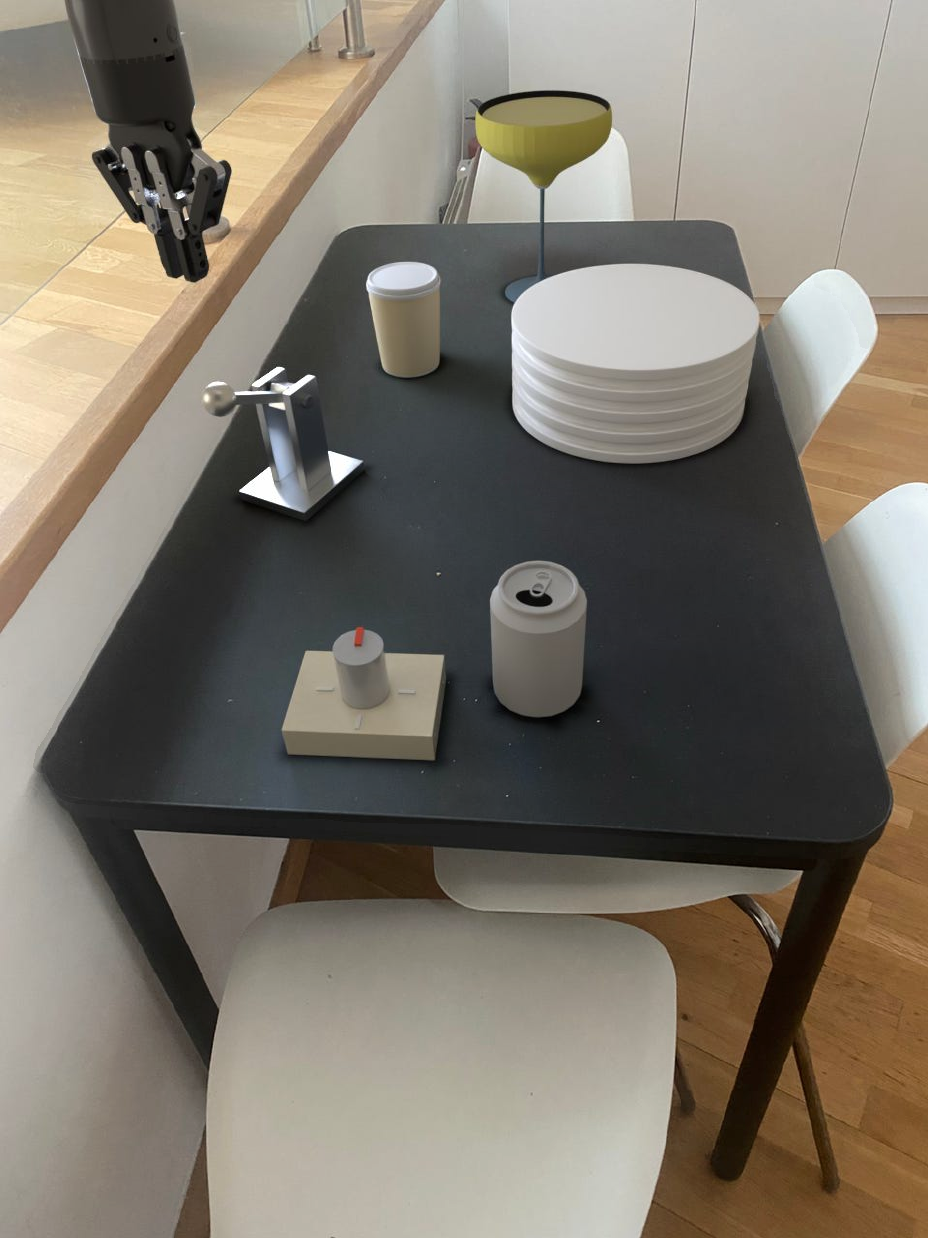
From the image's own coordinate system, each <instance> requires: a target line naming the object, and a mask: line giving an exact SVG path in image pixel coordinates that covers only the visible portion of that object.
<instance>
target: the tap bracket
mask: <svg viewBox="0 0 928 1238" xmlns="http://www.w3.org/2000/svg"><path fill="white" fill-rule="evenodd" d="M286 371H287V370H286V368H285V367H281V366H277V367H276V368H274V369H273V370H271V371H270V372H269V373H267V374H265V375H264V376H262V377H261V378H260V379H258V380H256V381H255V382H254V383H252V384H251V386H250V387H251V390H252V392H257V391H270V389H271V383H287V382H288V383H289V381H288V376H287V372H286ZM294 384H295V385H293V386H292V387H290V388H289V389H288V390H286V391H285V392H283V393H282V396H283V401H284V406H285V410H281V409H277V408H274V407H270V406H269V403H267V404H255V408H256V412H257V417H258V421H259V426H260V431H261V434H262V435H261V436H262V440H263V443H264V448H265V453H266V457H267V462H268V467H267V468H266V469H265V470H264V471H263V472H261V473H260V474H259V475H257V476H256V477H255V478H254V479H252V480H250V481H249V482H248V483H247V484H246V485H245V486H243V487H242V488H241V489H239V491H238V492H239V496H240V500H241V501H244V502H247V503H250V504H253V505H256V506H259V507H261V508H265V509H268V510H271V511H273V512H277V513H279V514H282V515H284V516H285V515H286V516H289V517H291V518H294V519H297V520H301V521H304V522H307V521H309V519H311V518H313V516H314V515H316V513H318V512H319V511H320V510H321V509H322V508H323V507H324V506H326V505H327V504H328V503H329V502H330V501H331V500H333V499H334V498H335V496H337V495H338V494H339V493H341V491H343V490H344V489H345V488H346V487H347V486H348V485H350V483H352V482H353V481H354V480H355V479H356V478H357V477H359V476H360V475H361V474H362V473H363V472H364V471H365V463H364V460H360V459H357V458H354V457H351V456H347V455H343V454H340V453H336V452H335V451H334V452H333V451H330V450H329V447H328V441H327V435H326V429H325V424H324V418H323V411H322V406H321V405H322V404H321V400H320V394H319V393H320V392H319V387H318V382H317V377H316V375H311V374H307V375H305V376H304V377H303V378H301V379H300V380H298V381H297V382H296V383H294Z"/></svg>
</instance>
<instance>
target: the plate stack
mask: <svg viewBox="0 0 928 1238" xmlns="http://www.w3.org/2000/svg"><path fill="white" fill-rule="evenodd" d="M510 316H511V317H510V318H511V369H512V371H511V386H512V393H511V395H512V396H511V403H512V411H513V414H514V416H515V418H516V420H517V422H518V424H520V426H521V427H522V428H523V429H524V430H525V431H526V432H527V434H529V435H531V436H532V437H533V438H535V439H536V440H538V441H539V442H541V443H542V444H544V445H546V446H548V447H550V448H553V449H555V450H557V451H560V452H562V453H565V454H568V455H571V456H574V457H578V458H582V459H587V460H592V461H596V462H597V461H598V462H603V463H614V464H653V463H662V462H663V463H664V462H669V461H675V460H680V459H684V458H687V457H692V456H694V455H697V454H700V453H703V452H705V451H707V450H709V449H712V448H714V447H715V446H718V445H720V444H721V443H722V442H724V441H725V440H727V438H729V437H730V436H731V435H732V434H733V433H734V432H735V431H736V429H737V428H738V426H739V425H740V423H741V421H742V419H743V417H744V411H745V407H746V406H745V404H746V398H747V393H748V390H749V381H750V376H751V372H752V367H753V358H754V355H755V350H756V344H757V336H758V334H759V328H760V321H761V320H760V319H761V317H760V312H759V309H758V307H757V306H756V304H755V303H754V301H753V299H751V297H750V296H748V295H747V294H746V293H745V292H744V291H742V290H741V289H739V288H738V287H736V286H734V285H733V284H731V283H729V282H727V281H725V280H723V279H720V278H718V277H715V276H713V275H712V276H711V275H709V274H707V273H703V272H699V271H696V270H692V269H687V268H683V267H676V266H670V265H663V264H662V265H661V264H650V263H649V264H648V263H613V264H603V265H594V266H586V267H582V268H575V269H572V270H568V271H564V272H561V273H558V274H555V275H552V276H551V277H550V278H547V279H545V280H543V281H541V282H539V283H537V284H535V285H533V286H532V287H530V288H529V289H527V290H526V291H525V292H524V293H523V294H522V295H521V296H520V297H519V298H518V299H517V301H516V302H515V303H513V306H512V309H511V315H510Z"/></svg>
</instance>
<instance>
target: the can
mask: <svg viewBox="0 0 928 1238" xmlns="http://www.w3.org/2000/svg"><path fill="white" fill-rule="evenodd" d="M490 595H491V596H490V599H489V608H490V609H489V611H490V637H491V638H490V639H491V663H492V666H491V667H492V685H493V692H494V694H495V697H496V698H497V699H498V701H499V703H500V704H502V705H503V706H504V707H506V708H507V710H509V711H511V712H513V713H516V714H519V715H521V716H524V717H531V718H543V717H544V718H545V717H552V716H555V715H558V714H560V713H563V712H565V711H567V710H568V709H570V708H571V707H572V706H574V704H575V703H576V702H577V700H578V699H579V697H580V696H581V692H582V687H583V676H584V675H583V674H584V661H585V660H584V657H585V642H586V624H587V610H588V609H587V608H588V607H587V606H588V599H587V596H586V592H585V590H584V589H583V588H582V586H581V585H580V584H579V580H578V578H577V576H576V575H575V574H574V573H573V572H572V571H571V570H570V569H568V568H567V567H565V566H564V565H561V564H559V563H556V562H553V561H548V560H547V561H545V560H530V561H529V560H528V561H525V562H521V563H517V564H515V565H513V566H511V567H510V568H508V569H507V570H505V572H503V574H502V575H501V576H500V577H499V580H498V583H497V585H496V586H495V587H494V588H493V589H492V592H491V594H490Z"/></svg>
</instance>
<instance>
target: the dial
mask: <svg viewBox="0 0 928 1238" xmlns="http://www.w3.org/2000/svg"><path fill="white" fill-rule="evenodd" d="M332 651H333V657H334V662H335V667H336V672H337V677H338V682H339V687H340V692H341V696H342V699H343V700H344V702H345V703H346V704H348V705H349V706H351V707H354V708H359V709H367V708H372V707H375V706H377V705H379V704H381V703H382V702H383V701H384V700H385V699H386V698H387V696H388V695H389V692H390V684H389V678H388V671H387V664H386V657H385V653H386V651H385V644H384V641H383V638H382V637H381V636H380V635H379V634H378V633H377V632H374V631H372V630H370V629H369V630H368V629H365V627H364V626H357V627H356V629H354V630H350V631H347V632H345V633H343V634H341V635H340V636H338V637H337V639H336V640H335V641H334V643H333V645H332Z"/></svg>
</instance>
